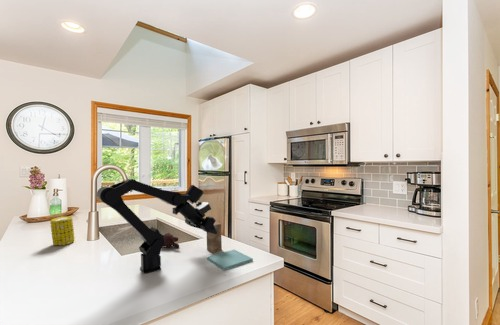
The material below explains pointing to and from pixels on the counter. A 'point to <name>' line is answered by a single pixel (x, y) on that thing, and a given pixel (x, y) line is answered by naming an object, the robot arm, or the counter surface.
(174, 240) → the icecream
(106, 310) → the counter surface
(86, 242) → the counter surface
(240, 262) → the teal board
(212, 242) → the walnut pillar
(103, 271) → the counter surface
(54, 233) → the food
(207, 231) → the robot arm
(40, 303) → the counter surface
